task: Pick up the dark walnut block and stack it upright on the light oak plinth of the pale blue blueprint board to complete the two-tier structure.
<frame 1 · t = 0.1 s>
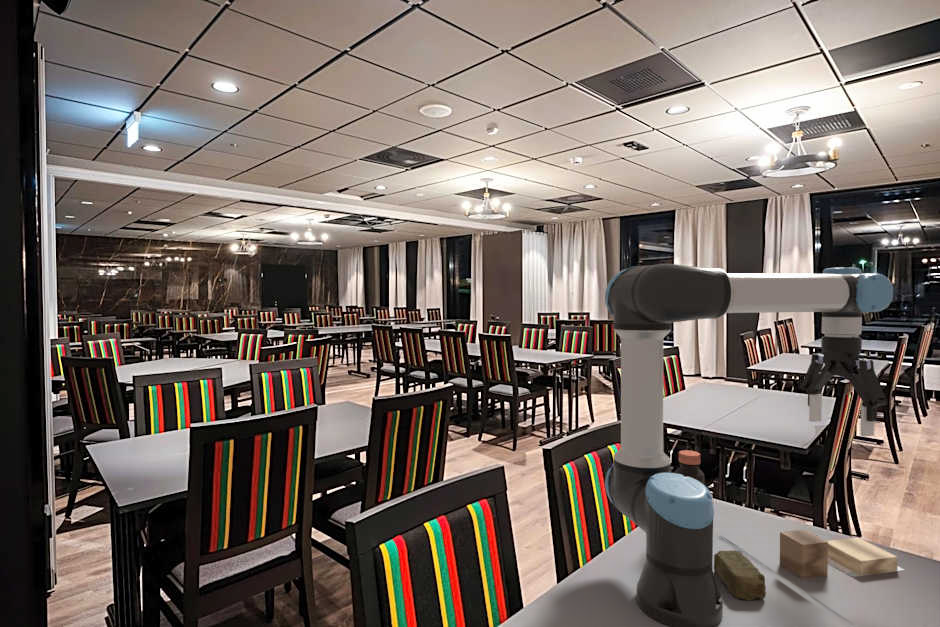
hand: (839, 428, 122), 28 cm above the table, fingers open, 13 cm apart
walnut block: (803, 574, 112), on the table
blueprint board: (859, 567, 114), on the table
bottle: (688, 534, 131), on the table
oak plinth: (859, 562, 114), resting on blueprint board
stone block: (738, 587, 107), on the table
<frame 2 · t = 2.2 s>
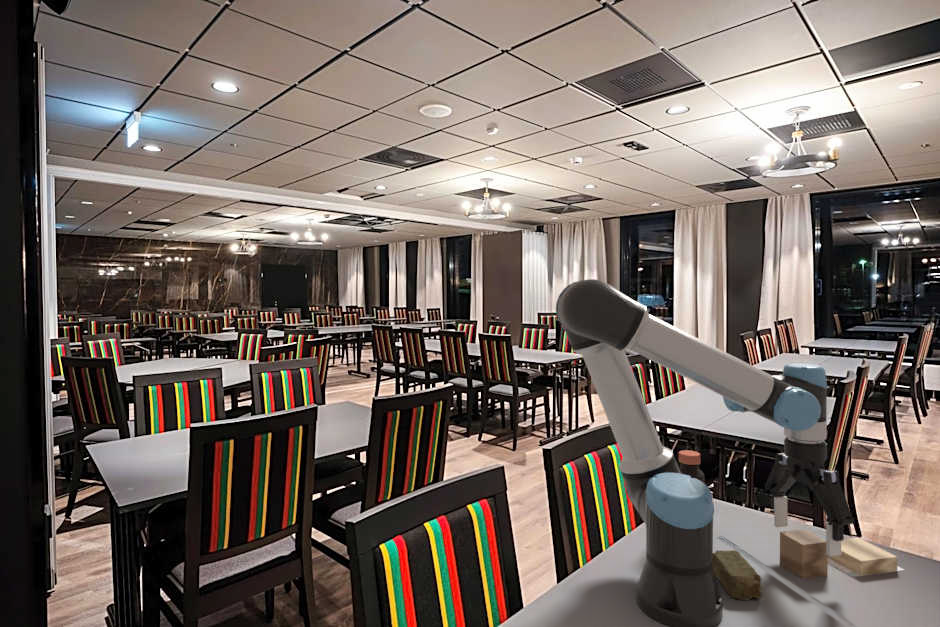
hand: (805, 539, 111), 7 cm above the table, fingers open, 13 cm apart
nothing on the table moved.
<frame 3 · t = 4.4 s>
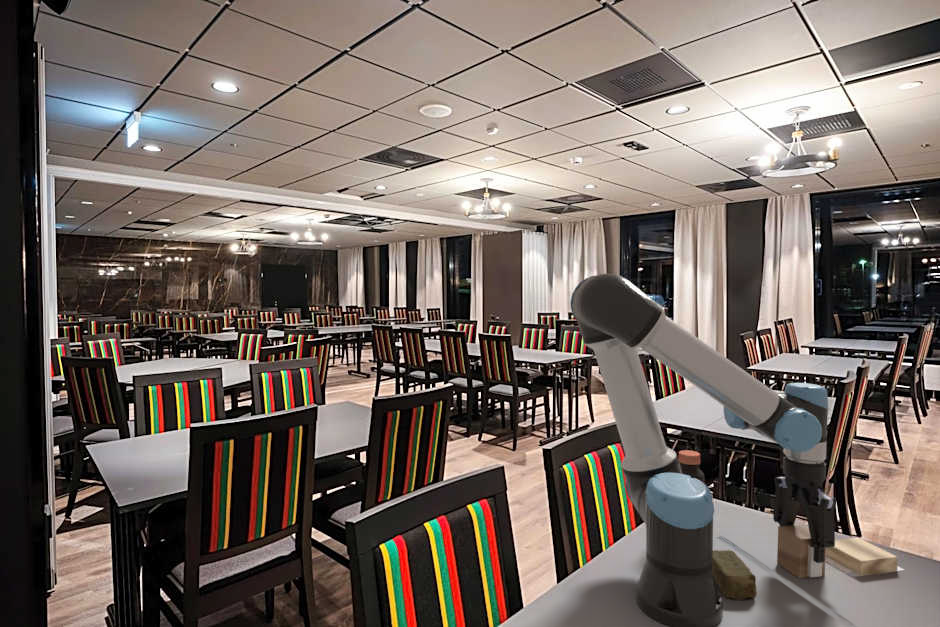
hand: (801, 567, 112), 1 cm above the table, fingers closed on walnut block, 6 cm apart
walnut block: (800, 569, 111), point 1 cm above the table, touching gripper
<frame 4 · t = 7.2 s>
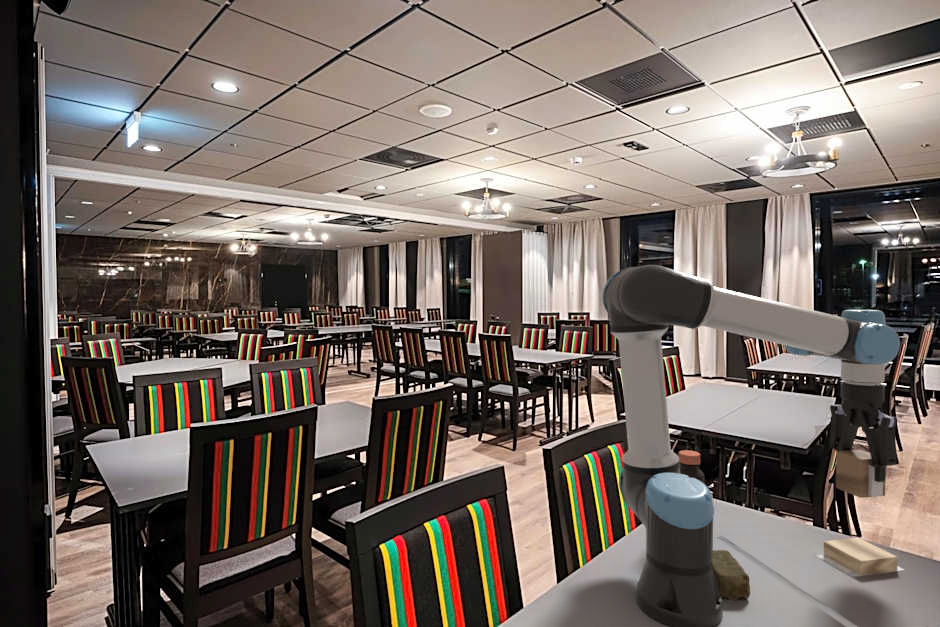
hand: (860, 489, 114), 17 cm above the table, fingers closed on walnut block, 6 cm apart
walnut block: (859, 491, 114), point 16 cm above the table, touching gripper
stone block: (724, 586, 108), on the table
everything else where it was.
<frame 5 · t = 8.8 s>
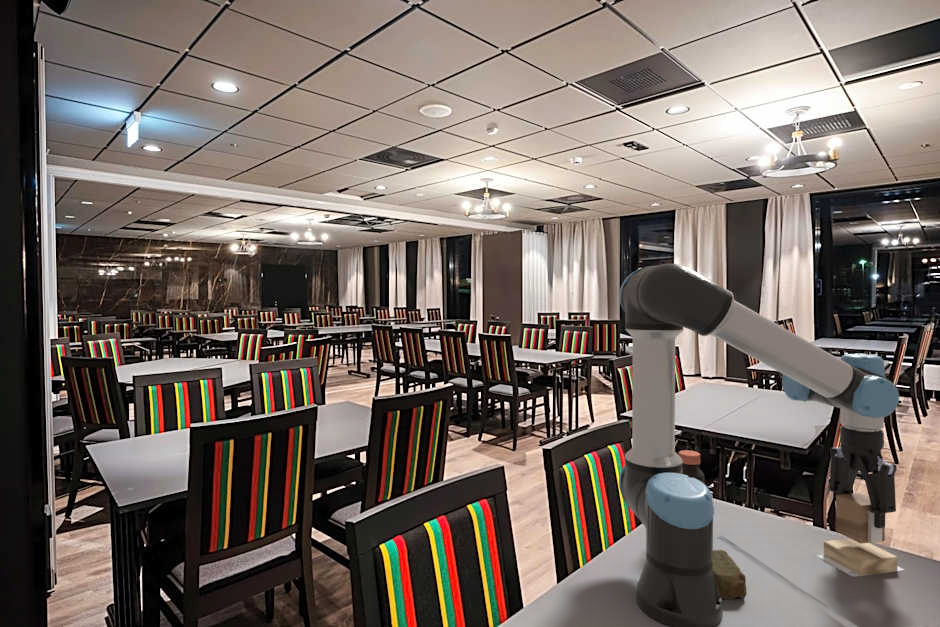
hand: (860, 534, 114), 7 cm above the table, fingers closed on walnut block, 6 cm apart
walnut block: (859, 535, 114), point 7 cm above the table, touching gripper
everything else where it was.
when the fingers open (6 cm above the table, at t = 9.9 s): walnut block drops 1 cm, resting on oak plinth.
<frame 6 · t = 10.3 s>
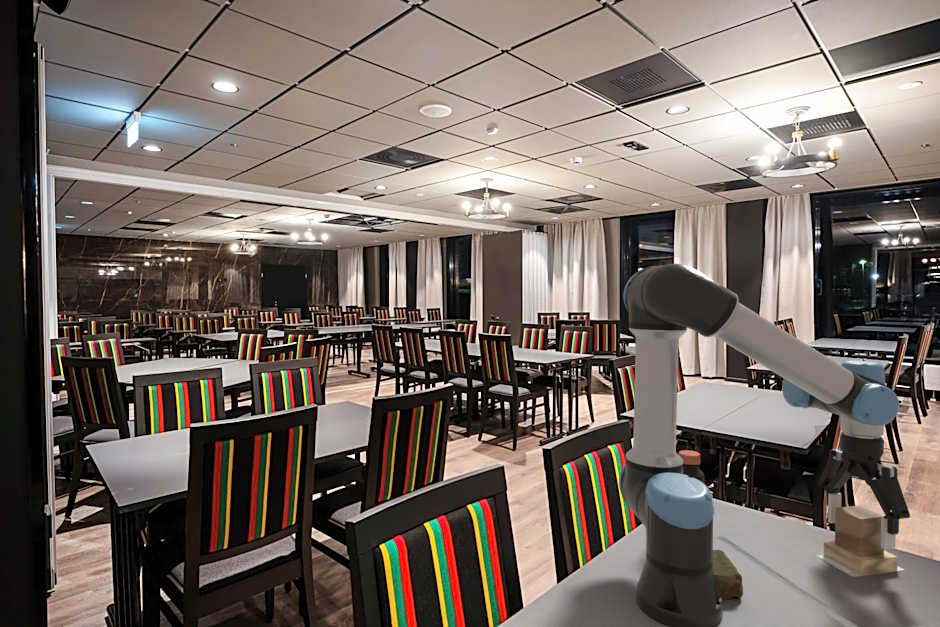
hand: (859, 534, 114), 7 cm above the table, fingers open, 12 cm apart
walnut block: (858, 549, 114), point 4 cm above the table, touching oak plinth
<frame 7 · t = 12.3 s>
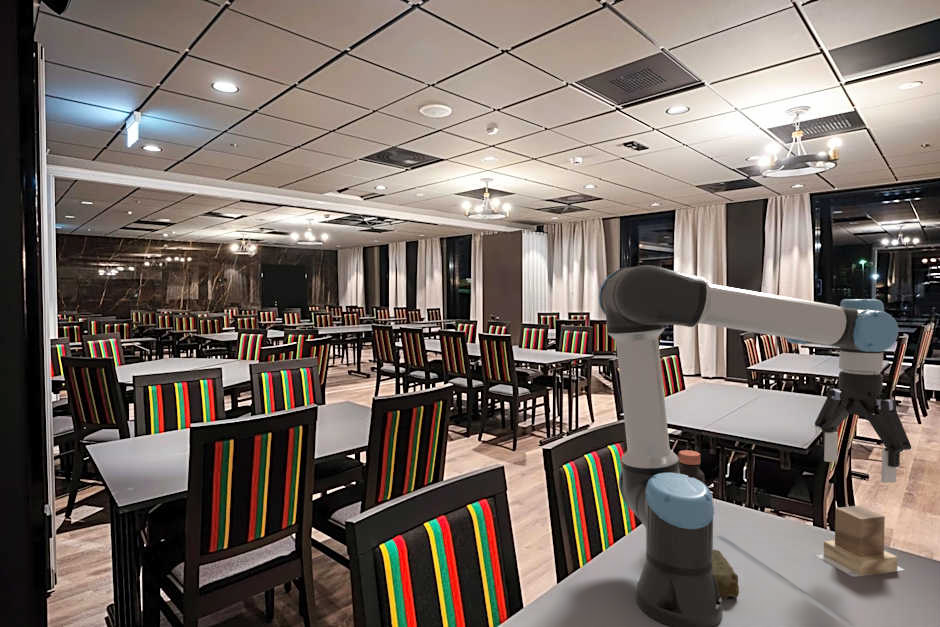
hand: (857, 471, 114), 21 cm above the table, fingers open, 13 cm apart
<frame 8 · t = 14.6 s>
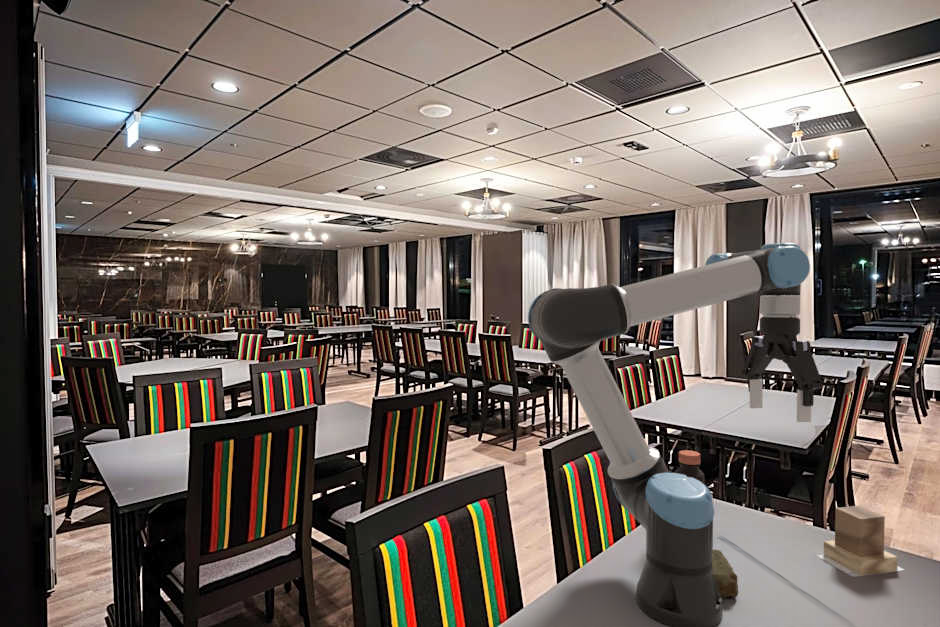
hand: (778, 414, 115), 33 cm above the table, fingers open, 13 cm apart
at the end: walnut block 0.2 cm off-centre on the oak plinth, point 3.0 cm above the oak plinth's base; walnut block tilted 0°; the gripper is holding nothing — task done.
